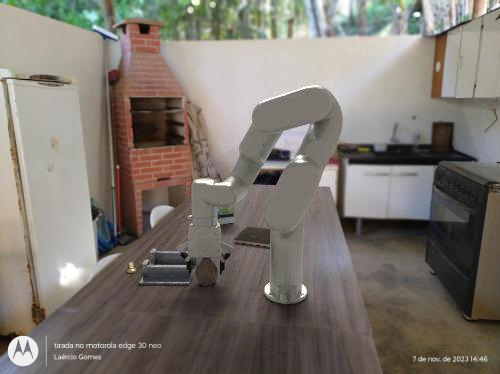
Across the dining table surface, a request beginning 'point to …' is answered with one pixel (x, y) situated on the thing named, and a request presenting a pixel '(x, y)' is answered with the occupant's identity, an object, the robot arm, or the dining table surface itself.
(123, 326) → the dining table surface
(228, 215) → the tea box
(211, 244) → the robot arm
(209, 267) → the vase
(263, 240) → the hardcover book
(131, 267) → the brass key
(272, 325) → the dining table surface
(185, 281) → the bracket
